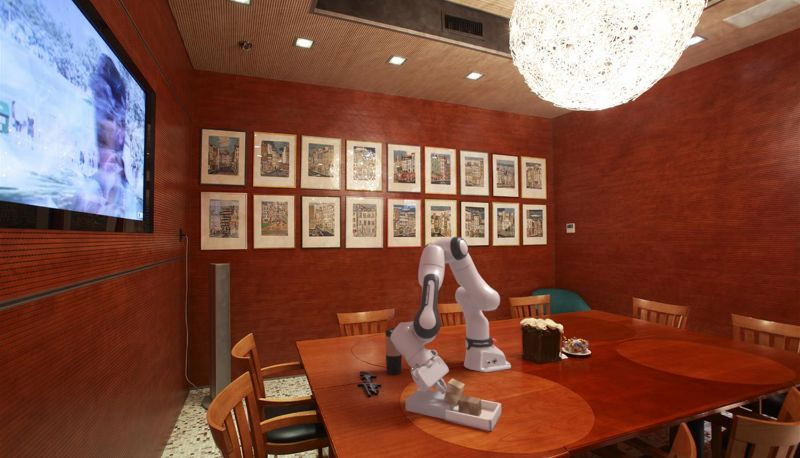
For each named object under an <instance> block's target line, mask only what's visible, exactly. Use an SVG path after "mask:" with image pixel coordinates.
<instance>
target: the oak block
mask: <svg viewBox="0 0 800 458" xmlns="http://www.w3.org/2000/svg"><path fill="white" fill-rule="evenodd" d="M446 386H447V389H446V393H445V397H444V401H445V402H447V403H449V404H451V405H453V406H455V407H457V406H458V400H459V399H460V397H461V396H462V395H464V394H463V393H464V388H465V383H463V382H461V381H460V380H457V379H455V378H451V379H450V380H449V381H448V382H447V383H446Z"/></svg>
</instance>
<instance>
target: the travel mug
mask: <svg viewBox="0 0 800 458" xmlns="http://www.w3.org/2000/svg"><path fill="white" fill-rule="evenodd" d="M394 328H395V327H392V328H391V329H385V363H386V364H385V368H386V374H388V375H389V376H397V375H400V374H402V368H403V367H402V366H403V364H402V361H403V358H402V357H403V355H401V354H400V353H399V351H398V350H397V349H396V347H395V346H394V344H393V343H392V341H391V332H392V331H393V329H394Z"/></svg>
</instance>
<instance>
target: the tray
mask: <svg viewBox="0 0 800 458" xmlns="http://www.w3.org/2000/svg"><path fill="white" fill-rule="evenodd" d="M502 410H503V409H502V403H500V402H496V401H490V400H486V399H481V412H482V413H481V415H480V416H479V417H478V416H473V415H469V414H464V413H459V410H458V406H457V407H455V408H454V409H453V410H452V411H450V410H445V419H444V420H445V422H449V423H453V424H458V425H461V426H467V427H470V428H475V429H480V430H484V431H489V432H492V431H493V430H494V428H495V426H496V424H497V423H498V420H499V419H500V417H501V415H502V413H503V411H502Z"/></svg>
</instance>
